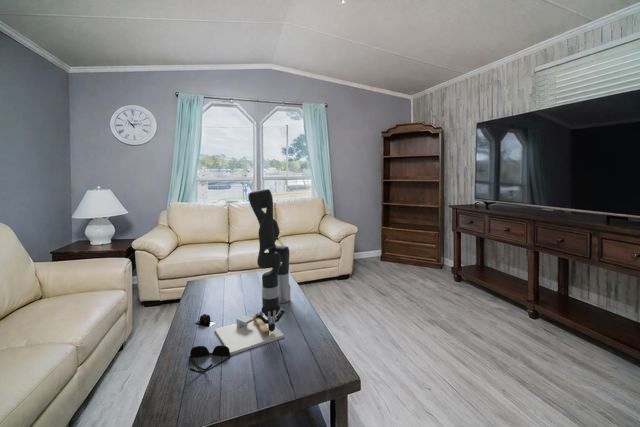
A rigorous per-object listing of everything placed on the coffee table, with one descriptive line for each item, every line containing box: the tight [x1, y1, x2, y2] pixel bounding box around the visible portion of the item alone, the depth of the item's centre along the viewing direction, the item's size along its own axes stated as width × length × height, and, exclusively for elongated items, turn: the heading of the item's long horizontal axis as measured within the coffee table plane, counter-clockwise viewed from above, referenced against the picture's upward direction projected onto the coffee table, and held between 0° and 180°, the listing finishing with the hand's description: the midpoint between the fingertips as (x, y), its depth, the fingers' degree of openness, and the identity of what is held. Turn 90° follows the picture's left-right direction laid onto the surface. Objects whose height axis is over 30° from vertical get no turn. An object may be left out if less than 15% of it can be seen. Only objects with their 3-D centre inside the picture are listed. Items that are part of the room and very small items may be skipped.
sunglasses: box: [188, 344, 232, 374], centre depth 117 cm, size 17×14×5 cm
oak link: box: [252, 313, 269, 336], centre depth 144 cm, size 18×4×3 cm, turn 25°
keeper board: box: [214, 314, 285, 356], centre depth 140 cm, size 25×24×6 cm
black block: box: [194, 313, 217, 328], centre depth 151 cm, size 12×7×5 cm, turn 69°
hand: (271, 330), depth 139 cm, fingers closed
